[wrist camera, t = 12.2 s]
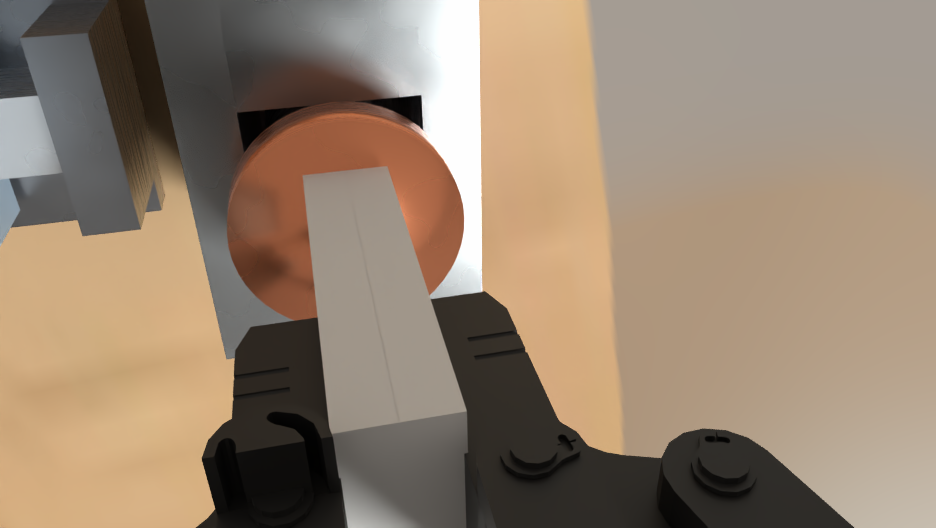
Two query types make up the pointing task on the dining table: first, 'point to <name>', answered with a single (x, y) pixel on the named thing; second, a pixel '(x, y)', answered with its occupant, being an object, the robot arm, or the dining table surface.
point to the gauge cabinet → (313, 103)
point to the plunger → (321, 151)
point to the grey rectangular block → (7, 208)
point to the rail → (73, 117)
